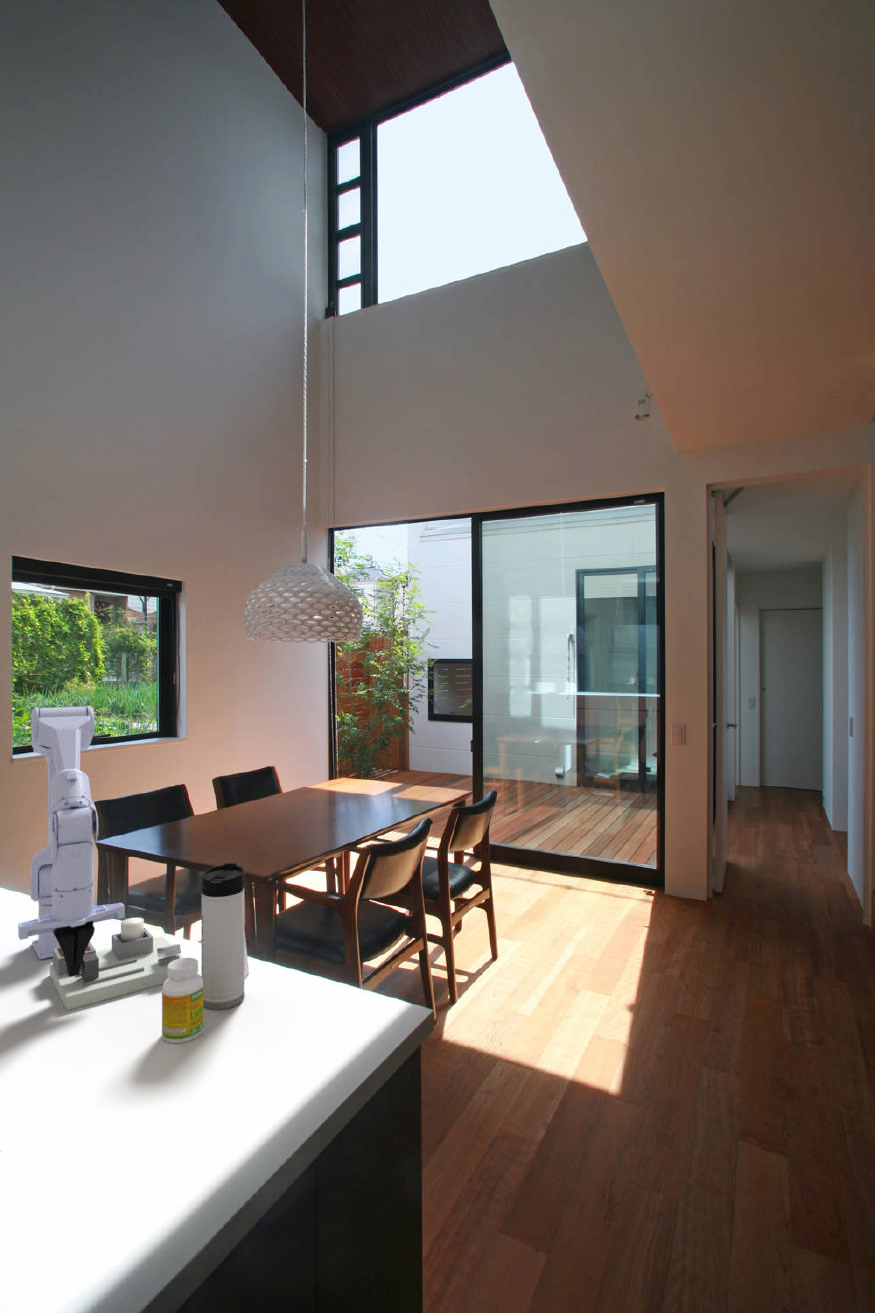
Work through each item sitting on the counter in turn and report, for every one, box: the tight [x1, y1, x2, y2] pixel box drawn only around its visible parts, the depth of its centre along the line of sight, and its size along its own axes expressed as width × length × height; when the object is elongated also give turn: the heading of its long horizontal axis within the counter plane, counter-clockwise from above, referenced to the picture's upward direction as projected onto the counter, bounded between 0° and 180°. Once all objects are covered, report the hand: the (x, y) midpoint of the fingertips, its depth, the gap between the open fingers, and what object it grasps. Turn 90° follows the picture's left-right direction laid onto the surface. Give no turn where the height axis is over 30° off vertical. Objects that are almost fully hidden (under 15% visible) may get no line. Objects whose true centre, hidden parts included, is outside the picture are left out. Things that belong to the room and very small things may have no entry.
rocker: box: [157, 943, 182, 957], centre depth 113 cm, size 4×3×1 cm, turn 38°
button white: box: [120, 917, 145, 943], centre depth 118 cm, size 4×4×3 cm
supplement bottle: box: [161, 957, 204, 1044], centre depth 94 cm, size 5×5×10 cm
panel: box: [49, 927, 184, 1011], centre depth 113 cm, size 15×18×5 cm
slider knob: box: [81, 953, 99, 981], centre depth 107 cm, size 3×2×3 cm
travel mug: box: [201, 862, 245, 1011], centre depth 104 cm, size 6×7×20 cm
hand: (73, 973), depth 106 cm, fingers closed
